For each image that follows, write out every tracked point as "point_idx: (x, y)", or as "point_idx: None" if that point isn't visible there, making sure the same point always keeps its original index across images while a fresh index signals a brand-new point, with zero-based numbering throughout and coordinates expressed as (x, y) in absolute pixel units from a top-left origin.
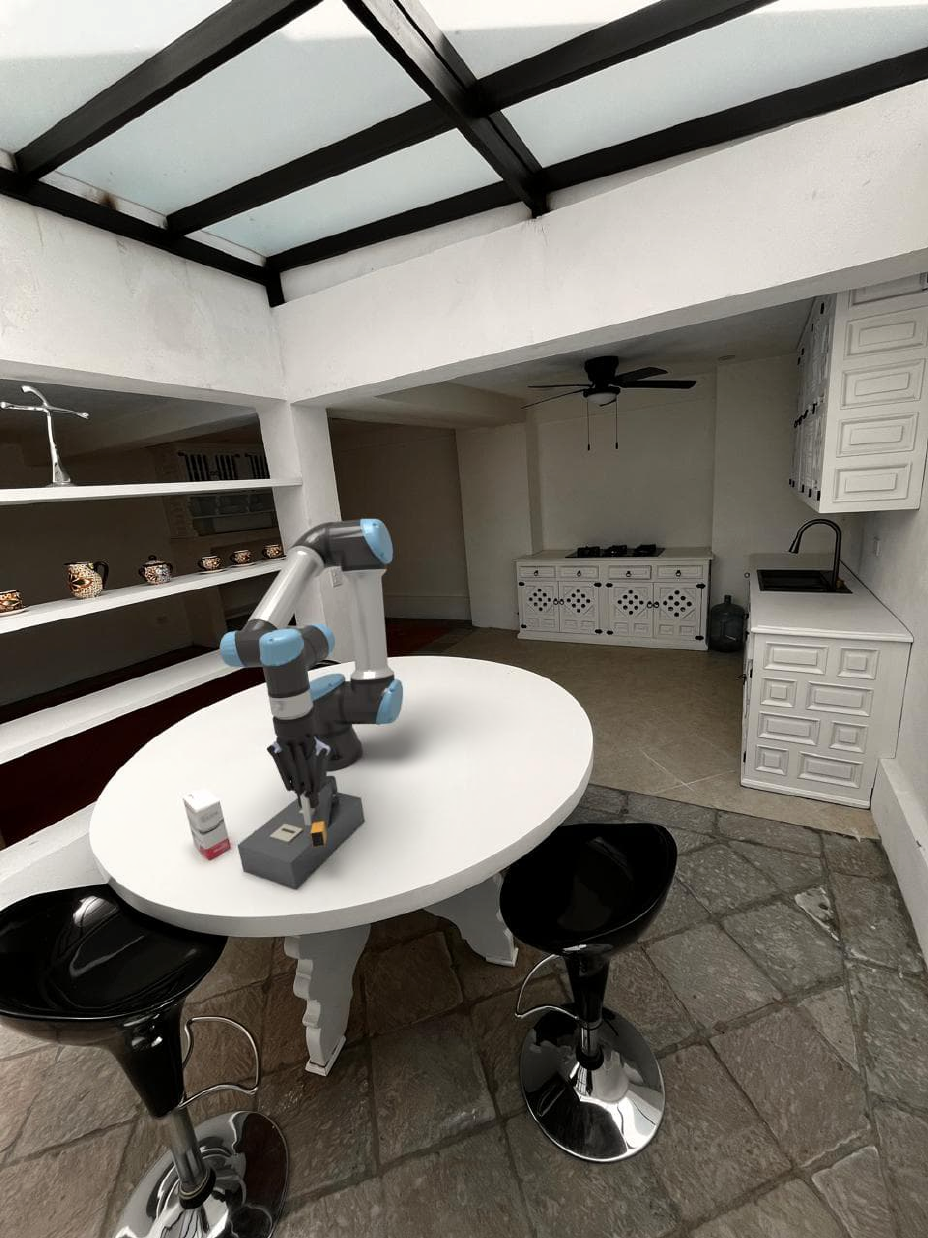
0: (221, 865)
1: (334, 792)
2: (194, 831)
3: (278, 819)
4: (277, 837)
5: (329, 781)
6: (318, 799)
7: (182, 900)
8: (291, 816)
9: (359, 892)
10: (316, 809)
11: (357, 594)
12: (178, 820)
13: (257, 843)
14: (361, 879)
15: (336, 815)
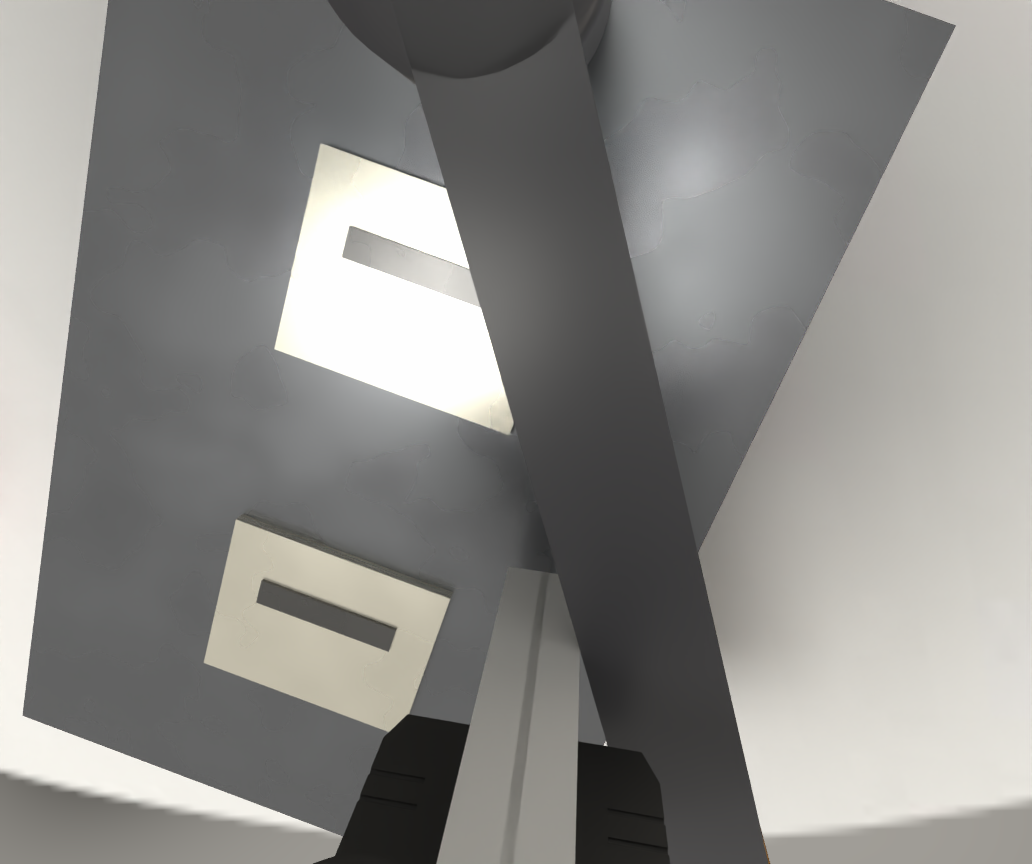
0: (6, 545)
1: (598, 42)
2: None
3: (133, 436)
4: (281, 685)
5: None
6: (666, 835)
7: (8, 750)
8: (232, 396)
9: (922, 773)
10: (597, 699)
11: None
12: None
13: (158, 710)
14: (917, 690)
15: (712, 396)
